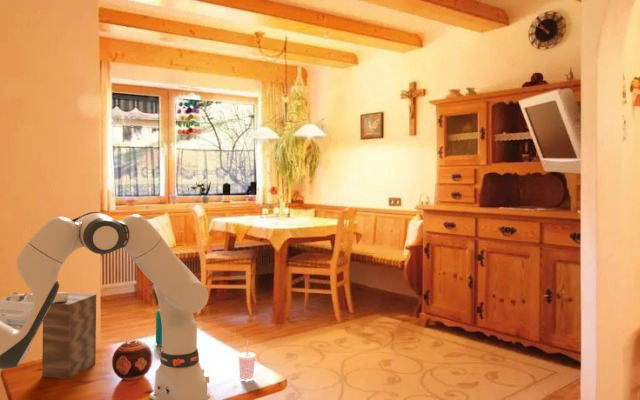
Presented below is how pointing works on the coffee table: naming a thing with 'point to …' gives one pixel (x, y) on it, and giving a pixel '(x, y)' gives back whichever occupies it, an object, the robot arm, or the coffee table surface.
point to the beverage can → (158, 329)
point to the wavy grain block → (69, 336)
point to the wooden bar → (18, 297)
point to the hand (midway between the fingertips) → (22, 294)
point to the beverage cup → (246, 364)
